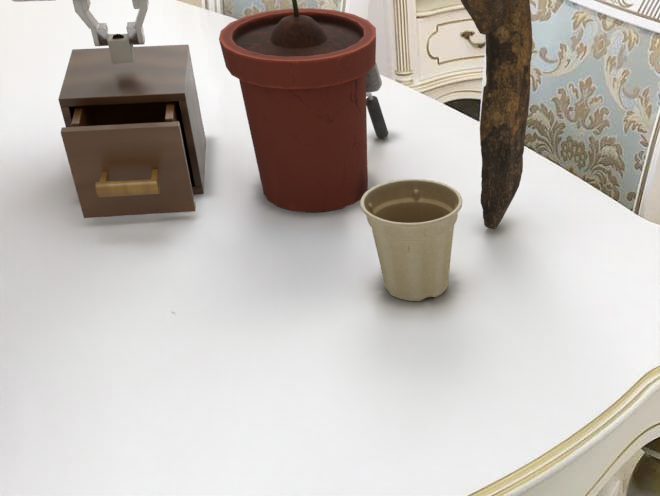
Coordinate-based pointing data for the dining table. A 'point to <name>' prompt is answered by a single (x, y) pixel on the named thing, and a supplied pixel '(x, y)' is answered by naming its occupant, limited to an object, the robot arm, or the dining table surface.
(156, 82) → the dresser
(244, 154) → the dining table surface
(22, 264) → the dining table surface
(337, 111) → the potted plant
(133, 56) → the cube with dark pebbles
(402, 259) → the flower pot
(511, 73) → the sculpture
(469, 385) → the dining table surface
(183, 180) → the drawer
